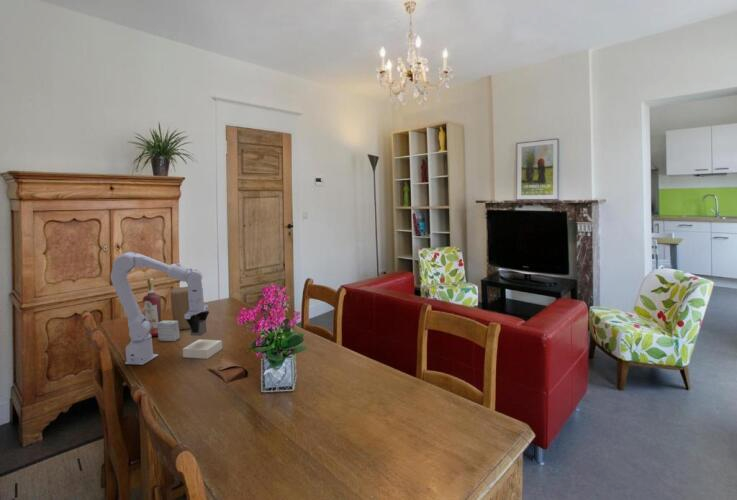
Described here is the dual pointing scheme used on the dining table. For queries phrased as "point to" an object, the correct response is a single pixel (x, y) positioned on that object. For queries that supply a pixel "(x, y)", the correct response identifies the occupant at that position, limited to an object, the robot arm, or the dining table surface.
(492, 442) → the dining table surface
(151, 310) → the liquor
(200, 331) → the charcoal block
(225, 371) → the sunglasses case
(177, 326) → the medicine box
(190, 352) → the white flat panel
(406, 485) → the dining table surface
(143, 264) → the robot arm
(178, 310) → the wooden block
